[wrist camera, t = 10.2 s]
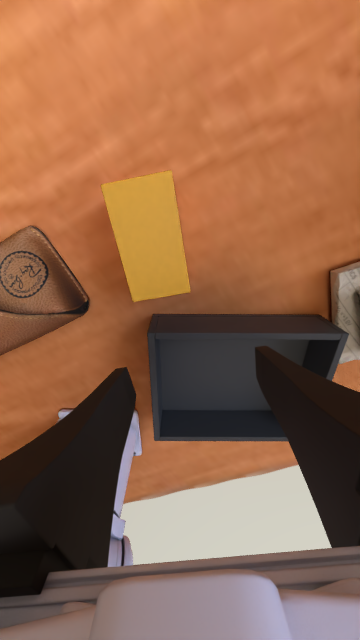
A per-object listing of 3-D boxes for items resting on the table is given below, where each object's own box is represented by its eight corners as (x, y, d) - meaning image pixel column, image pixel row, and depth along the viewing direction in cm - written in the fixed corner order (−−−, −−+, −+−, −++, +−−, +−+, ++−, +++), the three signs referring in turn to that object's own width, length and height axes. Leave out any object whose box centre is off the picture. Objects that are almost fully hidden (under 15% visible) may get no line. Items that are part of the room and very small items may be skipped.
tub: (157, 410, 25) (154, 441, 22) (153, 313, 20) (147, 332, 17) (290, 410, 26) (309, 441, 22) (319, 314, 20) (350, 333, 17)
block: (141, 288, 19) (132, 302, 16) (117, 193, 16) (99, 184, 13) (188, 280, 19) (190, 292, 15) (173, 182, 16) (171, 169, 12)
